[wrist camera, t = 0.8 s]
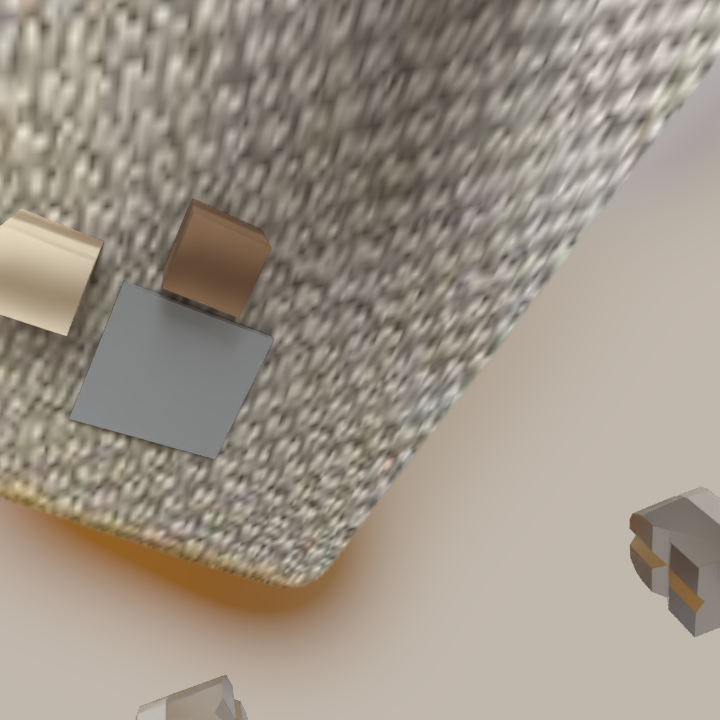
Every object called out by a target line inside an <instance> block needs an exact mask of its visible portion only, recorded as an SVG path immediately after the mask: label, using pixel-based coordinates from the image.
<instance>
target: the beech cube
mask: <svg viewBox="0 0 720 720" xmlns="http://www.w3.org/2000/svg"><path fill="white" fill-rule="evenodd" d="M103 243H104V241H101V240H99V239H96V238H94V237H91V236H89V235H86V234H84V233H81V232H79V231H76V230H74V229H71V228H69V227H66V226H64V225H61V224H59V223H56V222H54V221H51V220H49V219H46V218H44V217H41V216H38V215H36V214H33V213H31V212H28V211H26V210H23V209H20V210H19V211H18V212H16V213H15V214H14V215H13V216H12V217H11V218H9V219H8V220H7V221H6V222H5V223H4V224H2V225H1V226H0V315H3V316H6V317H9V318H12V319H16V320H19V321H22V322H25V323H28V324H31V325H34V326H37V327H40V328H43V329H46V330H49V331H52V332H55V333H58V334H61V335H64V336H67V334H68V332H69V329H70V327H71V325H72V322H73V320H74V318H75V315H76V313H77V311H78V308H79V306H80V303H81V301H82V298H83V295H84V293H85V290H86V287H87V285H88V282H89V279H90V277H91V274H92V272H93V269H94V266H95V264H96V261H97V258H98V256H99V253H100V251H101V248H102V245H103Z"/></svg>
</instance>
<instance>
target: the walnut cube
mask: <svg viewBox="0 0 720 720" xmlns="http://www.w3.org/2000/svg"><path fill="white" fill-rule="evenodd" d="M270 250H271V246H270V244H269V242H268V241H267V239H266V237H265V235H264V233H263V231H262V230H261V229H259V228H257V227H255V226H252V225H250V224H248V223H246V222H244V221H241V220H239V219H237V218H235V217H233V216H230V215H228V214H226V213H224V212H222V211H219V210H217V209H215V208H213V207H211V206H208V205H206V204H204V203H202V202H200V201H197V200H195V199H193V198H192V200H191V202H190V205H189V207H188V210H187V212H186V214H185V217H184V219H183V222H182V224H181V227H180V229H179V231H178V234H177V236H176V239H175V241H174V243H173V246H172V248H171V251H170V253H169V255H168V258H167V260H166V263H165V265H164V274H163V285H162V289H165V290H167V291H170V292H173V293H175V294H178V295H180V296H183V297H186V298H188V299H191V300H194V301H196V302H199V303H201V304H204V305H207V306H209V307H212V308H214V309H217V310H220V311H222V312H225V313H228V314H230V315H233V316H235V317H238V318H239V317H240V314H241V312H242V310H243V308H244V306H245V304H246V301H247V299H248V297H249V295H250V293H251V291H252V289H253V286H254V284H255V282H256V280H257V278H258V276H259V274H260V271H261V269H262V267H263V265H264V263H265V261H266V258H267V256H268V254H269V252H270Z"/></svg>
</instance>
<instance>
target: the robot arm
mask: <svg viewBox="0 0 720 720" xmlns="http://www.w3.org/2000/svg"><path fill="white" fill-rule="evenodd" d="M630 529H631V530H632V531H633V532H634V533H635V534H636V536H635V537H634V539H633V541H632V542H631V544H630V556H631V560H632V563H633V565H634V568H635V570H636V572H637V574H638V575H639V576H640V578H641V579H642V581H643V582H644V583H645V585H646V586H647V587H648V588H649V589H650V590H651V591H652V592H654V593H657V594H659V595H662V596H664V597H667V600H668V609H669V611H670V612H671V613H672V614H673V615H674V616H675V617H676V618H677V619H678V620H679V621H680V622H681V623H682V624H683V625H684V627H685V628H686V629H687V630H688V631H689V632H690V633H691V634H692V635H693V636H694V637H696V636H699V635H702V634H704V633H707V632H709V631H712V630H714V629H717V628H719V627H720V498H719V497H718V496H717V495H715V494H714V493H713V492H712V491H710V490H709V489H707V488H704V487H698V488H696V489H693V490H691V491H688V492H686V493H683V494H681V495H678V496H674V497H672V498H669V499H667V500H664V501H662V502H659V503H657V504H654V505H652V506H650V507H647V508H645V509H642V510H640V511H637V512H635V513H633V514H632V516H631V518H630ZM136 720H248V718H247V715H246V712H245V710H244V708H243V706H242V704H241V702H240V701H238V700H235V699H234V695H233V686H232V684H231V683H230V681H229V679H228V677H227V675H224V676H221V677H218V678H216V679H213V680H210V681H207V682H205V683H202V684H199V685H196V686H193V687H191V688H188V689H185V690H182V691H180V692H177V693H174V694H171V695H169V696H166V697H164V698H161V699H159V700H156V701H153V702H151V703H148V704H145V705H143V706H140V708H139V711H138V714H137V716H136Z"/></svg>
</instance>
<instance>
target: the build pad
mask: <svg viewBox="0 0 720 720" xmlns="http://www.w3.org/2000/svg"><path fill="white" fill-rule="evenodd" d="M272 342H273V337H271V336H269V335H266V334H263V333H261V332H258V331H255V330H253V329H250V328H248V327H245V326H242V325H240V324H237V323H234V322H232V321H229V320H226V319H224V318H221V317H219V316H216V315H213V314H211V313H208V312H205V311H203V310H200V309H197V308H195V307H192V306H190V305H187V304H184V303H182V302H179V301H176V300H174V299H171V298H168V297H166V296H163V295H161V294H158V293H155V292H153V291H150V290H147V289H145V288H142V287H139V286H137V285H134V284H132V283H129V282H126V281H124V282H123V285H122V287H121V290H120V292H119V295H118V297H117V300H116V302H115V305H114V307H113V310H112V312H111V315H110V317H109V320H108V322H107V325H106V327H105V330H104V332H103V335H102V337H101V340H100V342H99V345H98V347H97V350H96V352H95V355H94V357H93V360H92V362H91V365H90V367H89V370H88V372H87V375H86V377H85V380H84V382H83V385H82V387H81V390H80V392H79V395H78V397H77V400H76V402H75V405H74V408H73V410H72V413H71V415H70V418H69V419H71V420H75V421H78V422H82V423H86V424H89V425H93V426H96V427H100V428H104V429H107V430H111V431H115V432H118V433H122V434H125V435H129V436H133V437H136V438H140V439H144V440H147V441H151V442H154V443H158V444H162V445H165V446H169V447H172V448H176V449H180V450H183V451H187V452H191V453H194V454H198V455H201V456H205V457H209V458H212V459H216V457H217V455H218V453H219V451H220V449H221V446H222V444H223V442H224V440H225V438H226V436H227V434H228V432H229V430H230V428H231V426H232V424H233V422H234V420H235V418H236V416H237V414H238V412H239V410H240V408H241V406H242V404H243V402H244V399H245V397H246V395H247V393H248V391H249V389H250V387H251V385H252V383H253V381H254V379H255V377H256V375H257V373H258V371H259V369H260V367H261V365H262V363H263V361H264V359H265V357H266V354H267V352H268V350H269V348H270V346H271V344H272Z"/></svg>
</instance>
